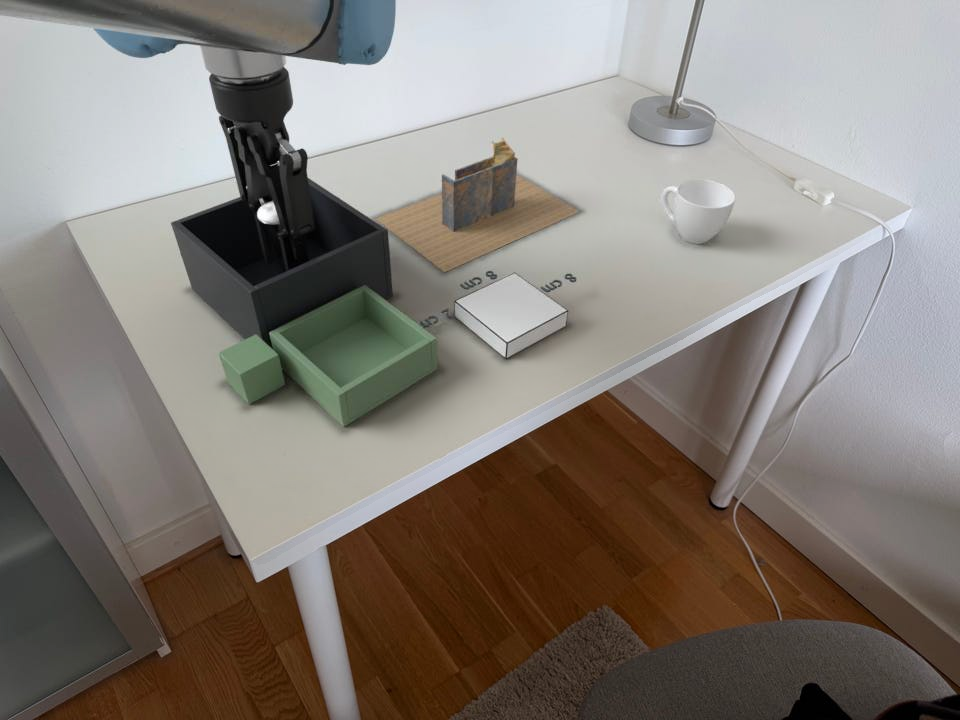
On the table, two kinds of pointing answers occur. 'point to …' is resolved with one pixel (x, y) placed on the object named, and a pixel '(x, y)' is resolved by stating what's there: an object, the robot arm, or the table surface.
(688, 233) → the cup
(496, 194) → the architectural model on board
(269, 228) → the milkshake
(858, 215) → the table surface
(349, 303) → the green bin
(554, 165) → the table surface
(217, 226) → the dark bin
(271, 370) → the green block
